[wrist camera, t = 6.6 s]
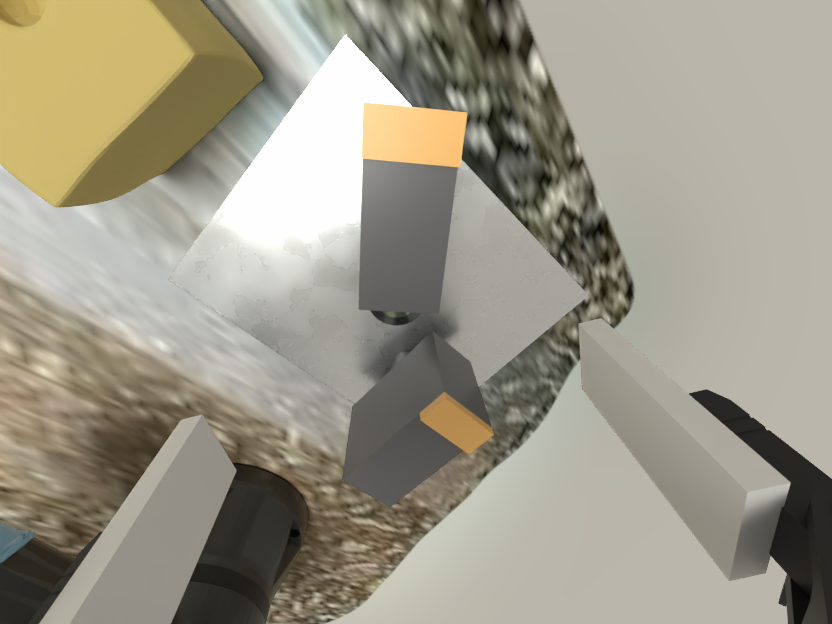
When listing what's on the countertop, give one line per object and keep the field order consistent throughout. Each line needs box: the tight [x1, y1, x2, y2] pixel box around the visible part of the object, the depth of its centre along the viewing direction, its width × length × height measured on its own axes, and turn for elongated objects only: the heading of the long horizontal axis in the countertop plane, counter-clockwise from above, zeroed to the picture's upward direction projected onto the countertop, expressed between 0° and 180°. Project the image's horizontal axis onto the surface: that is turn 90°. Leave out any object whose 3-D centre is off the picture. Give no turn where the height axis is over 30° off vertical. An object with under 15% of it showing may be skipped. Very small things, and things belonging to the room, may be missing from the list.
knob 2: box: [342, 331, 494, 507], centre depth 27 cm, size 9×4×10 cm, turn 137°
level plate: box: [168, 35, 589, 404], centre depth 29 cm, size 20×24×3 cm
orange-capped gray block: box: [358, 102, 467, 314], centre depth 21 cm, size 9×4×10 cm, turn 175°
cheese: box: [0, 0, 263, 207], centre depth 19 cm, size 10×11×10 cm
